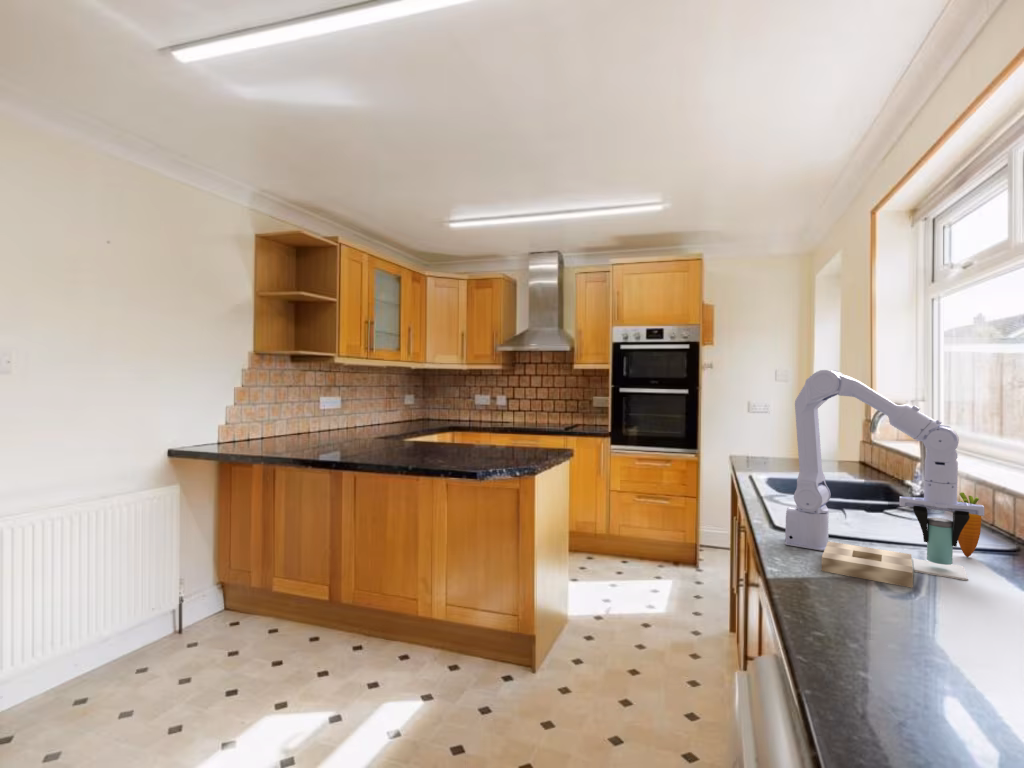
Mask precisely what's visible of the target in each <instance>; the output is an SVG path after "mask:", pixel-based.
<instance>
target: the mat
mask: <svg viewBox="0 0 1024 768" xmlns="http://www.w3.org/2000/svg"><path fill="white" fill-rule="evenodd" d="M912 566H913V573H914V572H916V573H921V574H926V575H933V576H938V577H944V578H950V579H957V580H962V581H967V582H968V581H969V578H968V574H967V572H966V570H965V569H966V568H965V566H962V565H956V564H950V565H944V564H938V563H933V562H930V561H928V560H927V559H926V560H924V559H919V558H914V557H913V558H912Z"/></svg>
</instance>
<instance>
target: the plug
mask: <svg viewBox="0 0 1024 768" xmlns="http://www.w3.org/2000/svg"><path fill="white" fill-rule="evenodd" d="M927 532H928V542H926V561H930V562H933V563H938V564H944V565H950V564H951V565H953V557H954V556H953V554H954V553H953V551H954V548H953V547H954V546H952V541H953V520H951V519H947V518H942V517H928V518H927Z"/></svg>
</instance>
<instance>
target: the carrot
mask: <svg viewBox="0 0 1024 768" xmlns="http://www.w3.org/2000/svg"><path fill="white" fill-rule="evenodd" d="M959 495H960V497H961V499H962V500H957V502H963V503H970V504H977V502H978V501H979V500H980V498H979V497H977V496H976V497H975V498H974V496H973V495H968V497H967V495H966V493H964V492H963V491H962V492H959ZM969 516H970V518H969V520H968V522H967V523H966V524H965V526H964V528H963V529H962V531H961V533H960V535H959V538H958V541H957V543H958V544H959V546H960V550H961V551H962V553H963V555H964V556H965V557H967V558H968V557H971V555H972V554H973V553H974V552H975V550H976V549H977V546H978V543H979V539H980V536H981V529H982V516H980V515H977V514H969Z"/></svg>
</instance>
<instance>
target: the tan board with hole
mask: <svg viewBox="0 0 1024 768" xmlns="http://www.w3.org/2000/svg"><path fill="white" fill-rule="evenodd" d="M821 571H822V572H825V573H830V574H831V573H832V574H837V575H843V576H846V577H847V576H848V577H852V578H858V579H864V580H870V581H874V582H879V583H885V584H891V585H896V586H901V587H905V588H906V587H908V588H912V589H913V588H914V584H913V583H914V566H913V558H912V554H911V553H906V552H898V551H894V550H893V551H892V550H886V549H881V548H880V549H879V548H873V547H868V546H867V547H866V546H859V545H853V544H848V543H840V542H835V541H829V540H828V543H827V545H826V548H825V550H824V551H823V553H822V555H821Z"/></svg>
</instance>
